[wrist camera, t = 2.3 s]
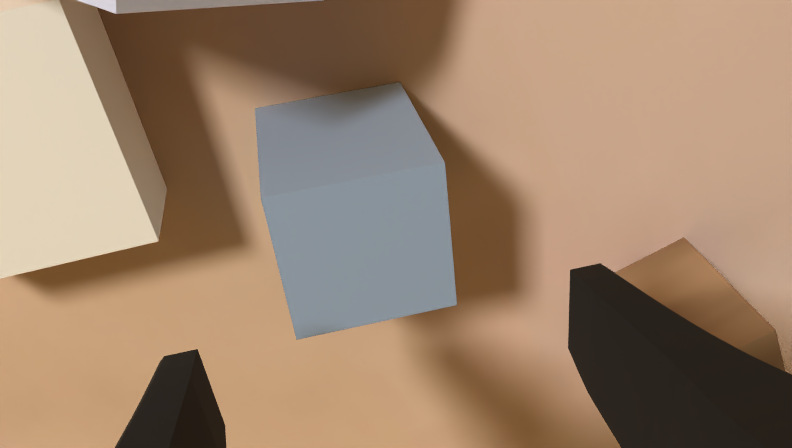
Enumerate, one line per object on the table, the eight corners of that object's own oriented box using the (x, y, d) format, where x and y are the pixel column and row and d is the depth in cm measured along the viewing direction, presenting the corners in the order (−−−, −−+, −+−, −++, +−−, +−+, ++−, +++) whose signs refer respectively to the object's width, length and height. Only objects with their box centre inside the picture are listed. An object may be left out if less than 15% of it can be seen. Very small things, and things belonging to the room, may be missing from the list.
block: (706, 311, 27) (794, 409, 22) (610, 359, 27) (678, 465, 23) (683, 236, 24) (775, 330, 20) (578, 290, 25) (648, 392, 21)
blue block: (413, 204, 22) (456, 305, 18) (284, 230, 21) (296, 339, 17) (400, 81, 20) (445, 162, 15) (254, 107, 19) (261, 198, 15)
